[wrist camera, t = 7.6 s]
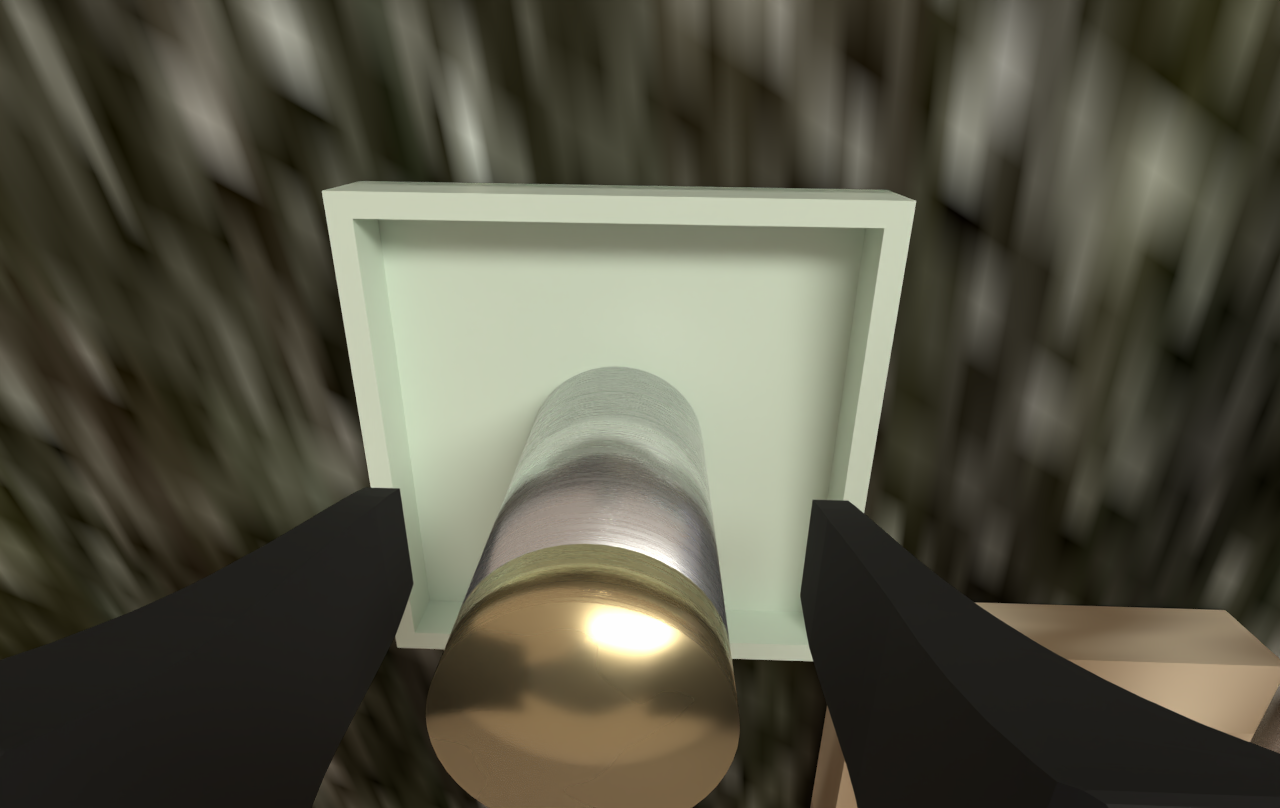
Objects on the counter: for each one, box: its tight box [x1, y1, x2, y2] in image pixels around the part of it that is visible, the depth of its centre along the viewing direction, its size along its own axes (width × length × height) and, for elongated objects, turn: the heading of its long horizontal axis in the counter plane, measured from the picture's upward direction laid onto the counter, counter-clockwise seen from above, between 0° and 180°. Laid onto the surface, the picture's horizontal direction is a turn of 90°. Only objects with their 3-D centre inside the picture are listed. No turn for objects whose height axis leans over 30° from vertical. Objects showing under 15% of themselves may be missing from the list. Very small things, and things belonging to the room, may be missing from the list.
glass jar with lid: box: [426, 366, 740, 808], centre depth 12 cm, size 4×4×8 cm
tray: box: [322, 181, 916, 661], centre depth 16 cm, size 11×11×2 cm
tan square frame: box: [810, 602, 1280, 808], centre depth 19 cm, size 10×10×2 cm
